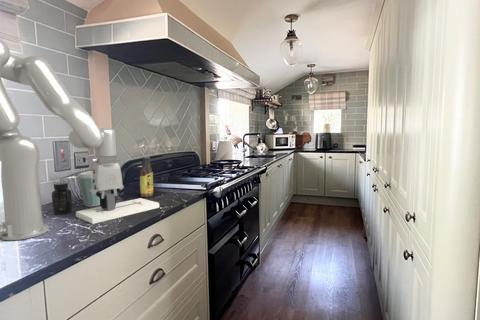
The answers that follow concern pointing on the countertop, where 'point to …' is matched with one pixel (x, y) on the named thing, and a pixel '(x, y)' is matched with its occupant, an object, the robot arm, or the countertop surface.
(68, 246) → the countertop surface
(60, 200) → the supplement bottle
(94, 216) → the board
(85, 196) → the disposable coffee cup
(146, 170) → the sauce bottle
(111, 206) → the fader tab
